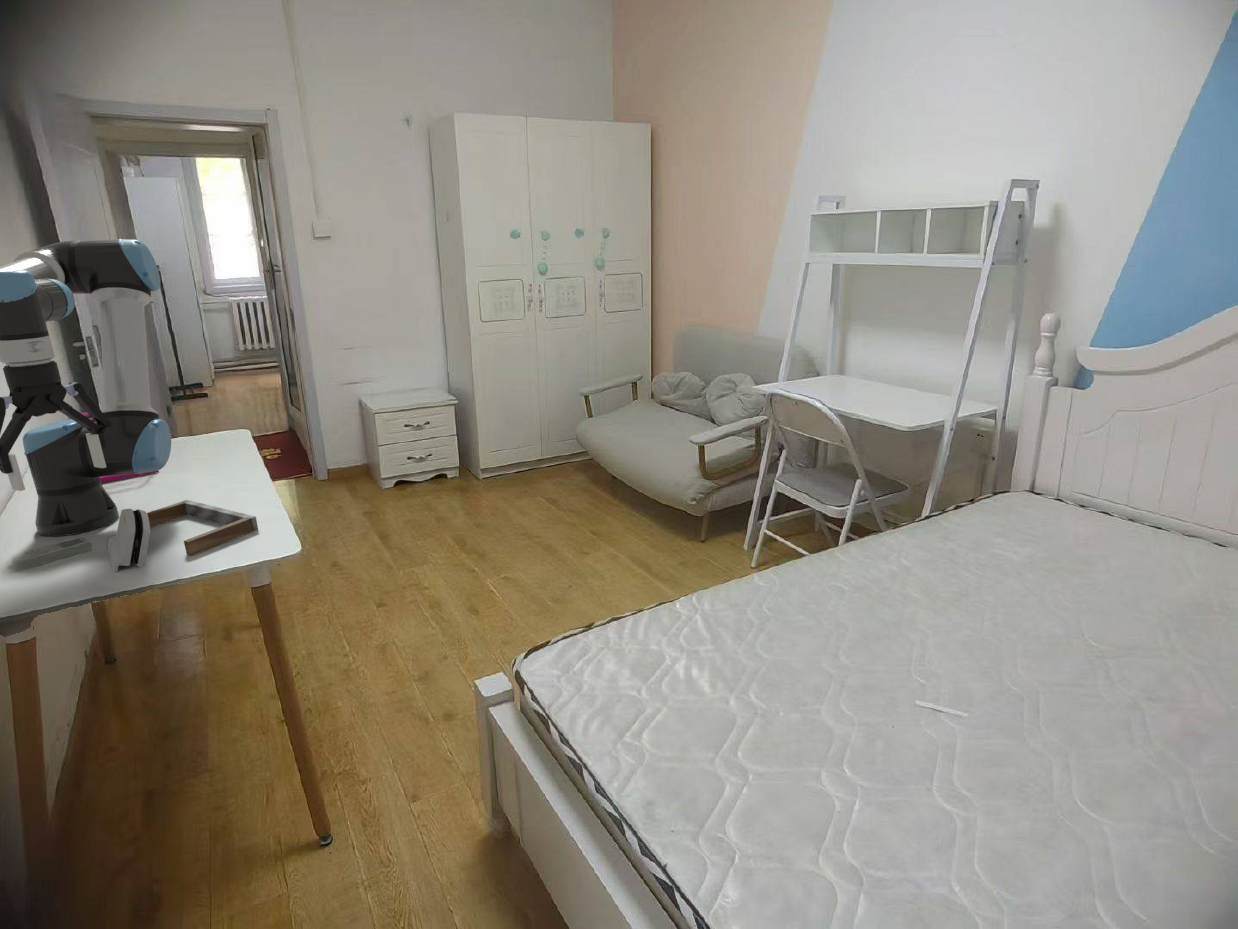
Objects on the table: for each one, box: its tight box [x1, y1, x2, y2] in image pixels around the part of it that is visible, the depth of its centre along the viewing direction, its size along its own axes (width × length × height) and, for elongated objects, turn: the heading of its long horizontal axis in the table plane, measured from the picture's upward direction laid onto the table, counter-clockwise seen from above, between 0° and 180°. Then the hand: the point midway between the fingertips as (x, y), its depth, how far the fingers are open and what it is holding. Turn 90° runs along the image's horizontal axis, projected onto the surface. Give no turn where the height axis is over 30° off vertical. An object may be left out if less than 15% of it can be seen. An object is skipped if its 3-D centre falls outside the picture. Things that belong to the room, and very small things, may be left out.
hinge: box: [107, 508, 151, 573], centre depth 148 cm, size 17×5×10 cm, turn 37°
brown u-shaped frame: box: [146, 499, 259, 557], centre depth 159 cm, size 25×15×3 cm, turn 61°
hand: (61, 478), depth 134 cm, fingers open, 13 cm apart
